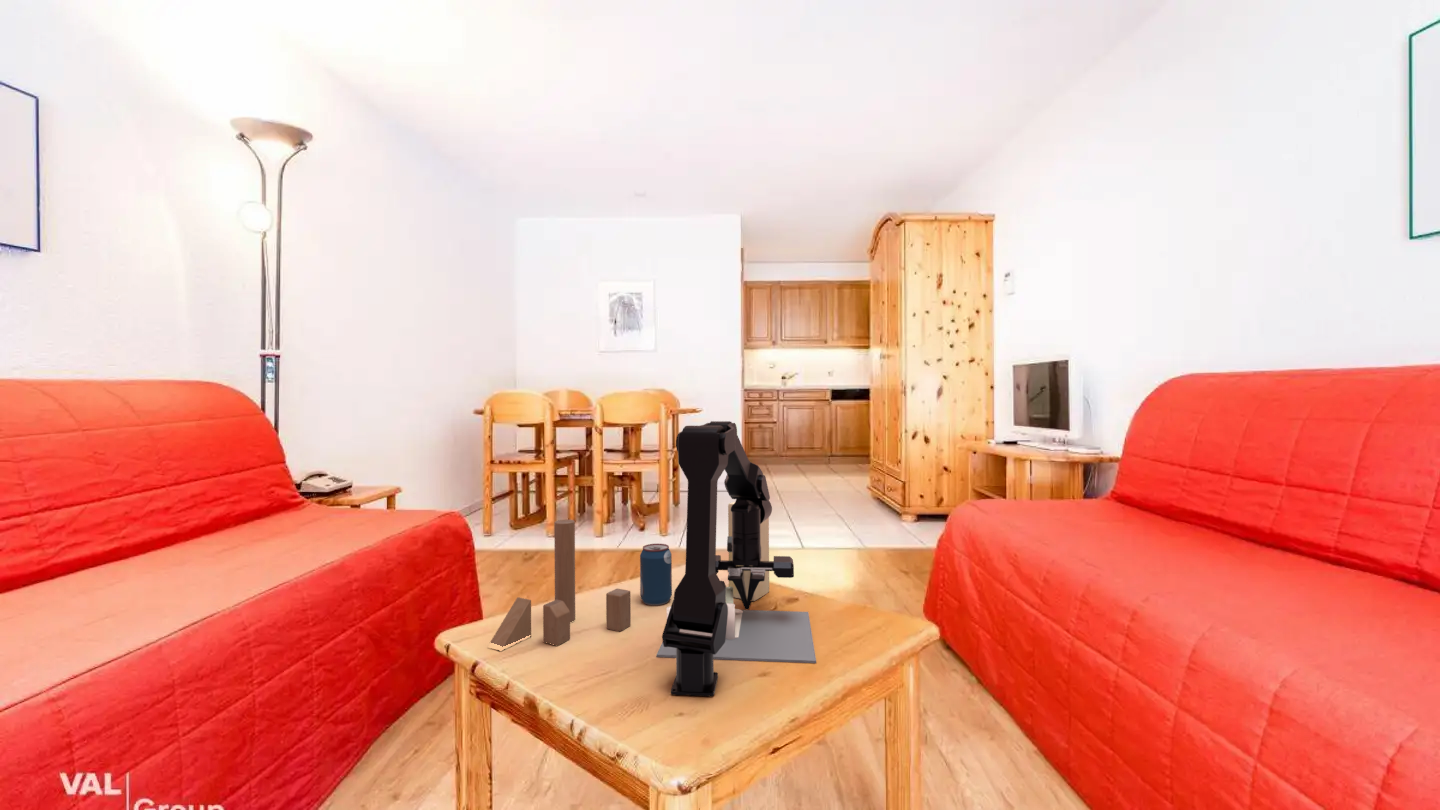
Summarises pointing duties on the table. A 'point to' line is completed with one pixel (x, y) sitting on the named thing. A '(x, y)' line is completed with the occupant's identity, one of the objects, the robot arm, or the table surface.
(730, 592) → the swinging fence panel
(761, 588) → the tall beige block
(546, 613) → the wooden blocks
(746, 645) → the card
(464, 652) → the table surface
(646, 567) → the soda can
